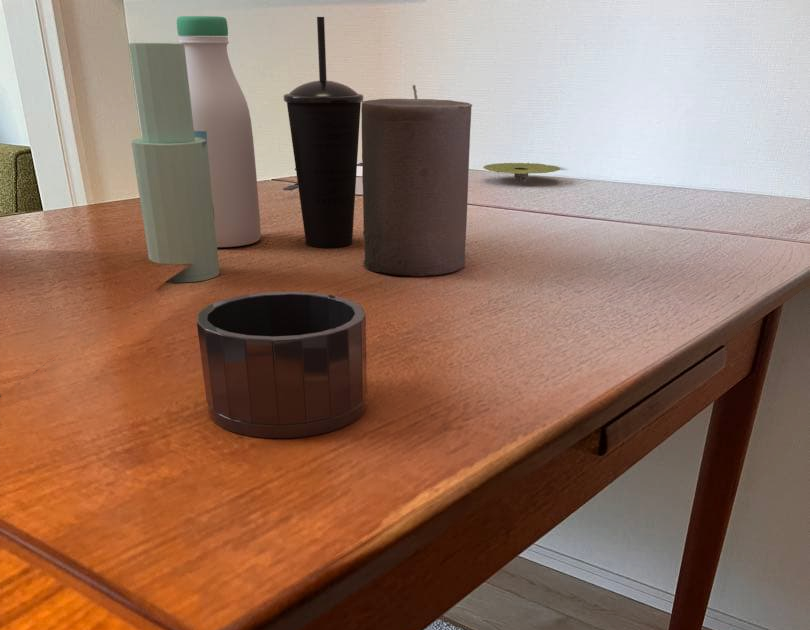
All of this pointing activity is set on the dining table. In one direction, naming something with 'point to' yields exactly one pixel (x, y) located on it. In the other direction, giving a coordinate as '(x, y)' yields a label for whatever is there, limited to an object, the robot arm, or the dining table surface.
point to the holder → (284, 363)
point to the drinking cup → (325, 153)
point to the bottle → (172, 165)
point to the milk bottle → (222, 129)
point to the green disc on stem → (521, 169)
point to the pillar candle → (415, 185)
